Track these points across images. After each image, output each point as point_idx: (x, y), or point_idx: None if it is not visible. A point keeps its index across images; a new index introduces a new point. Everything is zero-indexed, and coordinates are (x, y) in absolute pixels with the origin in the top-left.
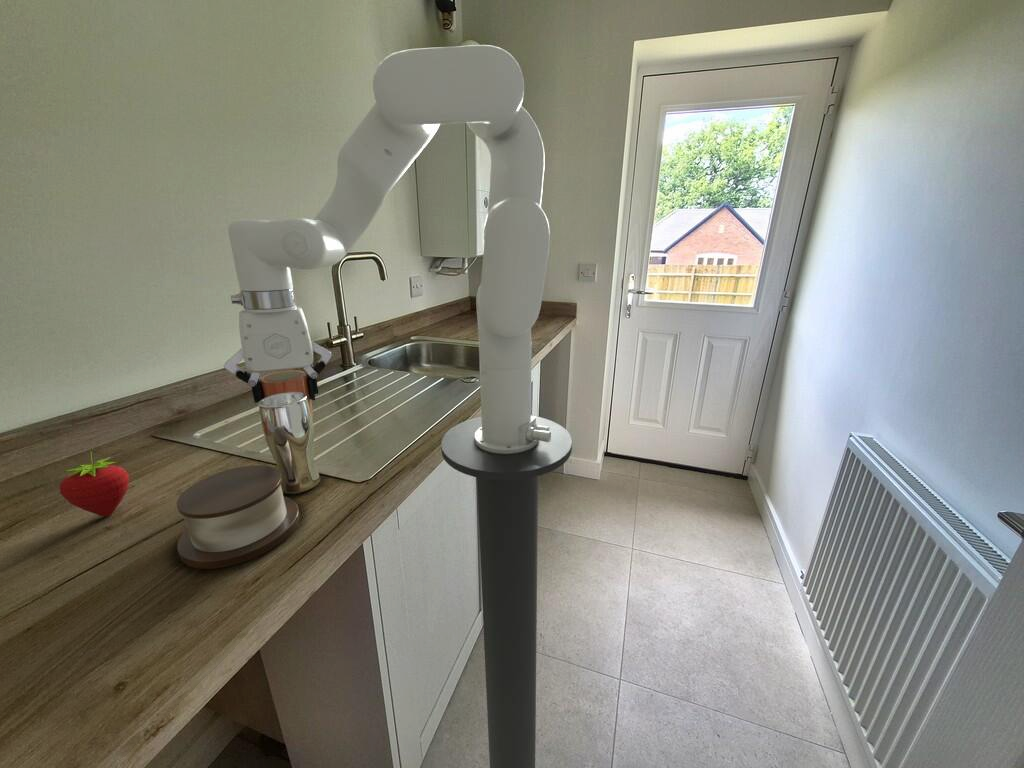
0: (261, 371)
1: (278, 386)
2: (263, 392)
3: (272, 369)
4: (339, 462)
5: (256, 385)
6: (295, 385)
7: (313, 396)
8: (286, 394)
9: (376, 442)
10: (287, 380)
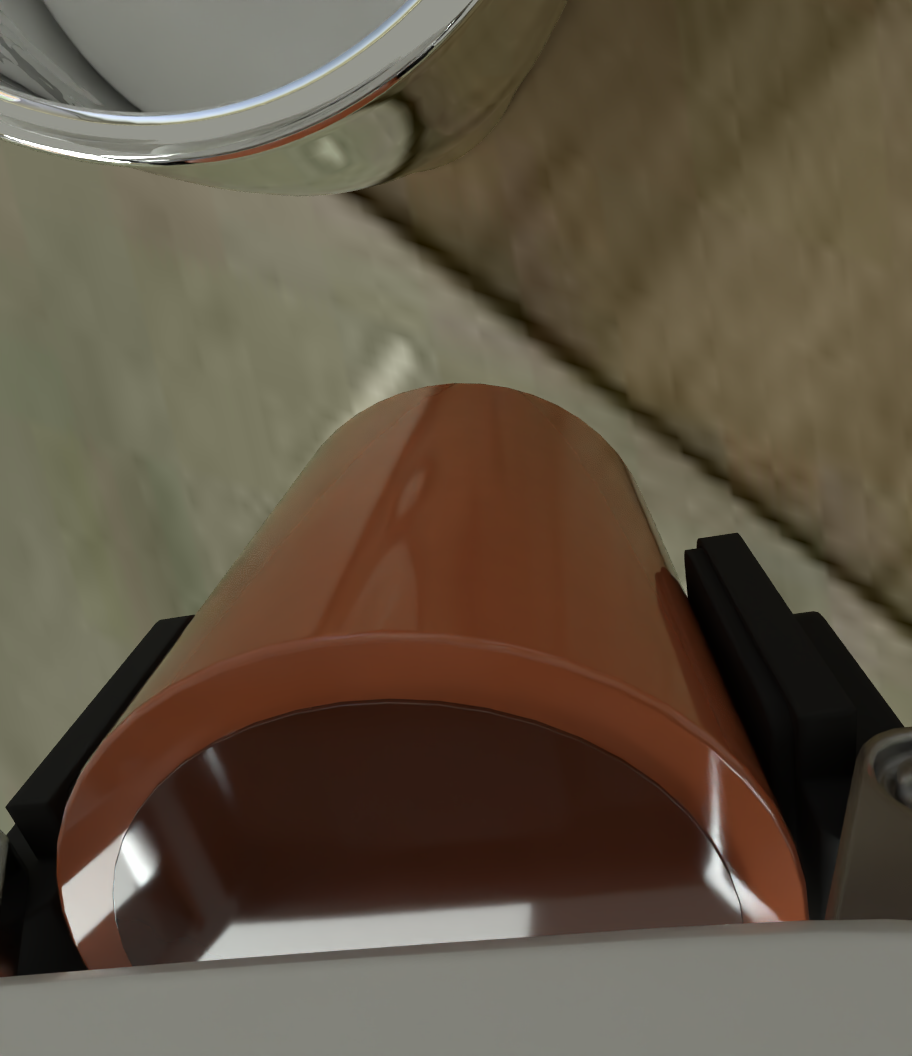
0: (816, 927)
1: (444, 591)
2: (718, 671)
3: (502, 956)
4: (212, 285)
5: (846, 765)
6: (196, 636)
7: (155, 634)
8: (181, 123)
9: (47, 494)
10: (265, 691)
